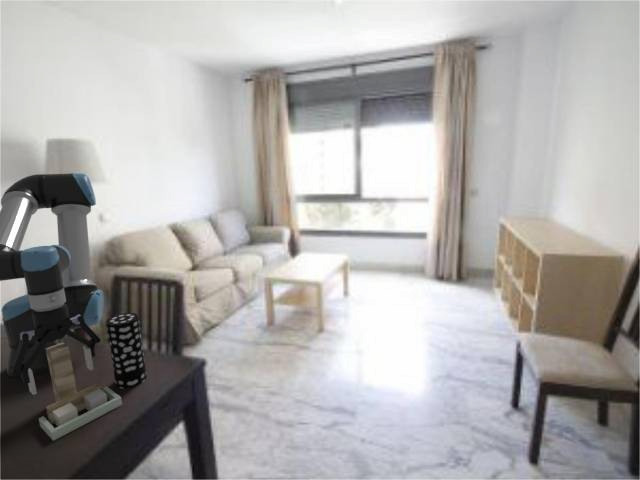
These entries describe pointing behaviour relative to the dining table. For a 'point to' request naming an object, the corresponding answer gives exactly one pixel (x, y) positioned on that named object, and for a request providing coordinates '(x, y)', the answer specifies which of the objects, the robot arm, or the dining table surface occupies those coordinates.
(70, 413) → the off-white cube
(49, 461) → the dining table surface
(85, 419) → the bay
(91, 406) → the gray cube
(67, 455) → the dining table surface
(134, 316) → the spotted tube
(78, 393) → the cream t-shaped block
